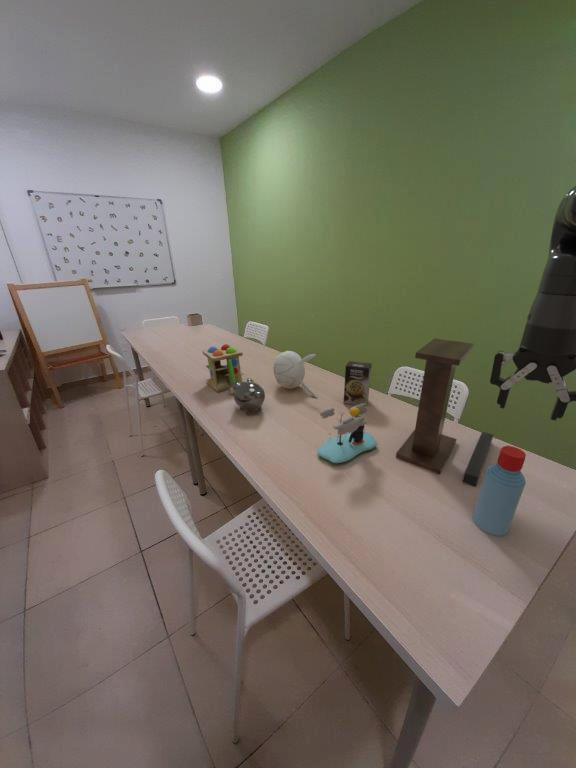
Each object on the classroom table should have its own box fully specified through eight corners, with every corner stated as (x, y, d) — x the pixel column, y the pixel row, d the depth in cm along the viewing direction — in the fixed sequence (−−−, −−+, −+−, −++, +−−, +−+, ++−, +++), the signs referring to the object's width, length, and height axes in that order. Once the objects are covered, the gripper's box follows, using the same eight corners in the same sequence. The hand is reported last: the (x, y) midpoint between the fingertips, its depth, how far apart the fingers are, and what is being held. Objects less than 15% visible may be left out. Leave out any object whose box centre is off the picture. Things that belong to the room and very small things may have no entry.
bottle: (509, 520, 66) (535, 451, 59) (506, 541, 62) (532, 469, 54) (475, 506, 70) (495, 440, 63) (469, 525, 66) (490, 455, 58)
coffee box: (342, 403, 119) (344, 365, 113) (346, 396, 125) (348, 360, 118) (366, 407, 116) (369, 368, 110) (368, 400, 122) (372, 362, 115)
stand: (455, 443, 93) (479, 343, 80) (439, 474, 81) (464, 361, 68) (416, 430, 100) (431, 337, 87) (395, 457, 88) (410, 352, 75)
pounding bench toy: (254, 391, 133) (251, 352, 126) (224, 399, 126) (219, 359, 119) (234, 375, 151) (230, 340, 144) (206, 382, 144) (201, 346, 137)
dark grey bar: (491, 442, 93) (493, 434, 91) (475, 486, 76) (478, 477, 75) (480, 439, 94) (482, 431, 93) (462, 481, 78) (464, 472, 77)
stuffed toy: (262, 352, 132) (303, 356, 114) (285, 347, 141) (326, 350, 123) (266, 393, 137) (305, 403, 119) (287, 386, 146) (327, 394, 128)
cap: (522, 464, 60) (526, 450, 58) (520, 474, 57) (525, 460, 56) (498, 456, 62) (502, 443, 61) (495, 466, 59) (499, 452, 58)
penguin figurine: (360, 431, 101) (363, 390, 94) (384, 447, 92) (389, 404, 86) (310, 450, 92) (310, 407, 86) (332, 470, 83) (333, 423, 77)
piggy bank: (251, 398, 126) (249, 373, 121) (273, 411, 115) (271, 384, 111) (228, 407, 119) (224, 381, 115) (248, 421, 109) (246, 393, 104)
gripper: (616, 322, 46) (578, 415, 53) (505, 313, 55) (484, 395, 62) (624, 332, 41) (580, 434, 48) (499, 321, 50) (477, 409, 56)
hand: (526, 412), depth 55 cm, fingers open, 7 cm apart
